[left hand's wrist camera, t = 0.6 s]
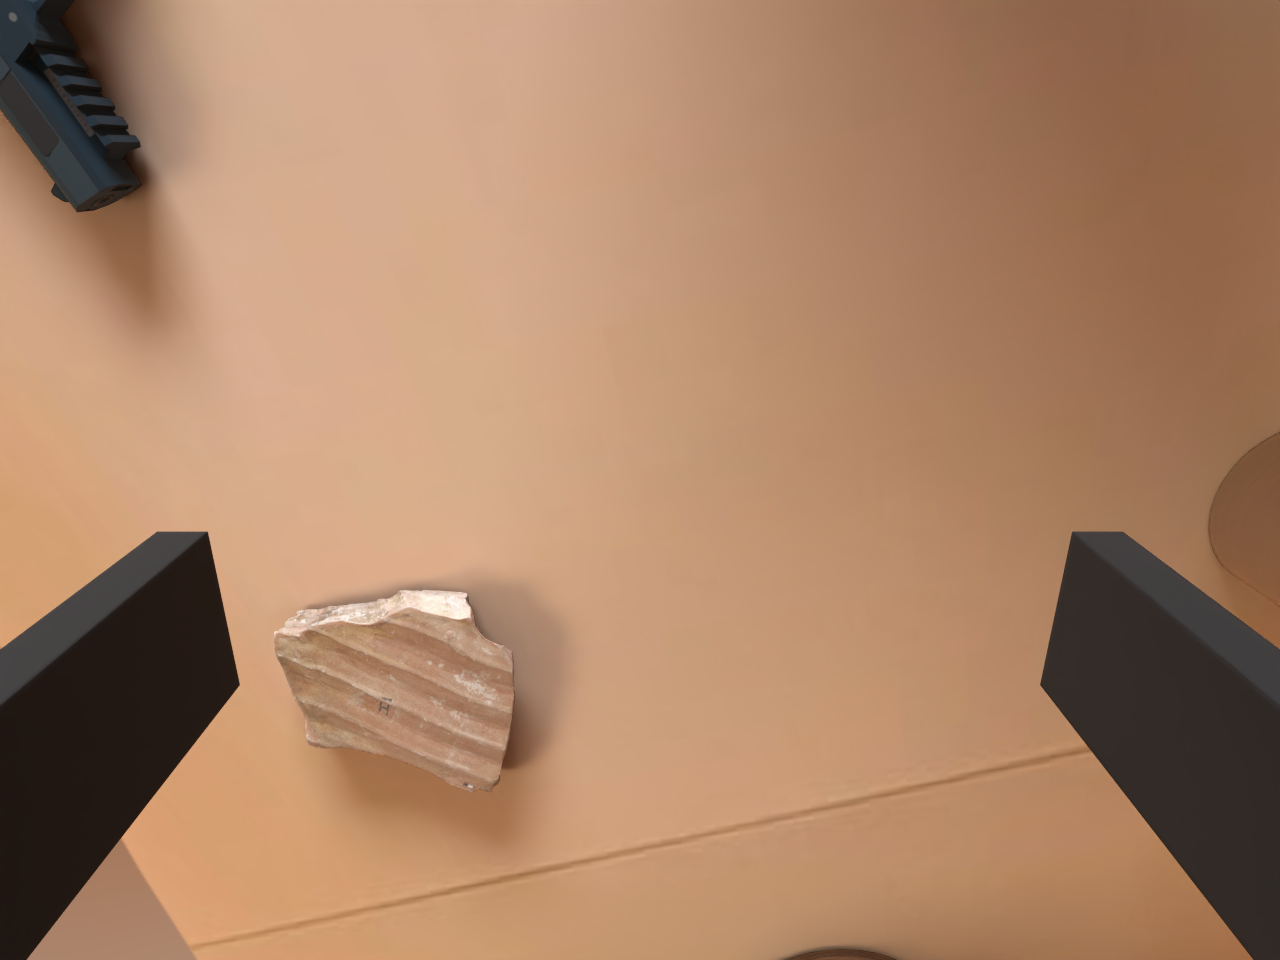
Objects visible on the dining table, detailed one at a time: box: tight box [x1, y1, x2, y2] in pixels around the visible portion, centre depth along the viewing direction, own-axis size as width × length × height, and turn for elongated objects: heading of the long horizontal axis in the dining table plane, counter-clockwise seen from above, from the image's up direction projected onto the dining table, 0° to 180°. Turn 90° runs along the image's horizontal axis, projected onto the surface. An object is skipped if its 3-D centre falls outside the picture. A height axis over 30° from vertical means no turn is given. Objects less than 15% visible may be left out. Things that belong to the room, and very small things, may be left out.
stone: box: [274, 590, 515, 792], centre depth 45 cm, size 13×12×3 cm
